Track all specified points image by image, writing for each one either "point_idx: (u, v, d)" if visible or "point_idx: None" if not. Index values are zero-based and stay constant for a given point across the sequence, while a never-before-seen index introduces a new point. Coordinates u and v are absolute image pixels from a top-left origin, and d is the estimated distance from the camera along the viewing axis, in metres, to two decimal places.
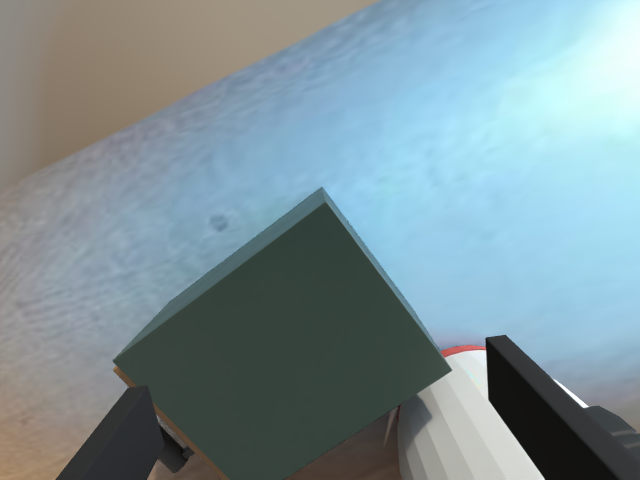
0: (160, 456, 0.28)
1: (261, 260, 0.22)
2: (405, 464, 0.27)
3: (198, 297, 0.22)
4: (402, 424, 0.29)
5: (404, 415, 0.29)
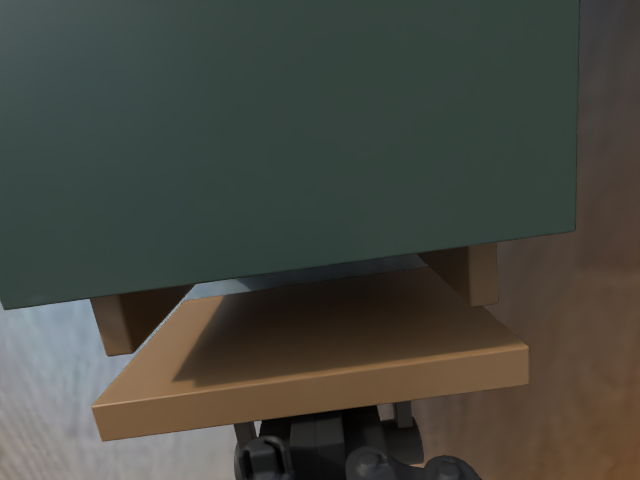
0: None
1: None
2: None
3: None
4: None
5: None
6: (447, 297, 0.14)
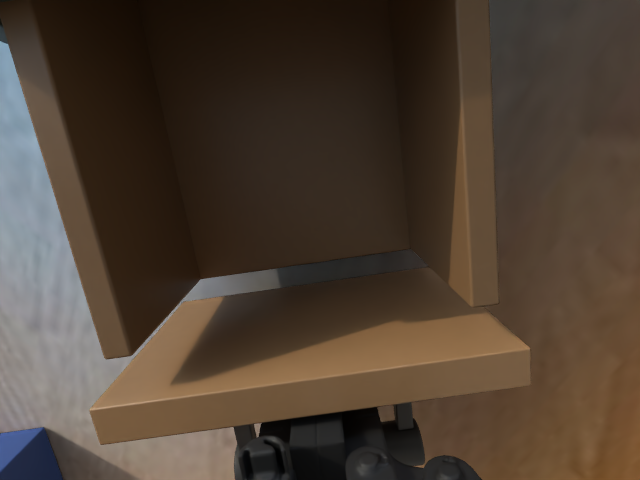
0: None
1: None
2: None
3: None
4: None
5: None
6: (447, 298, 0.14)
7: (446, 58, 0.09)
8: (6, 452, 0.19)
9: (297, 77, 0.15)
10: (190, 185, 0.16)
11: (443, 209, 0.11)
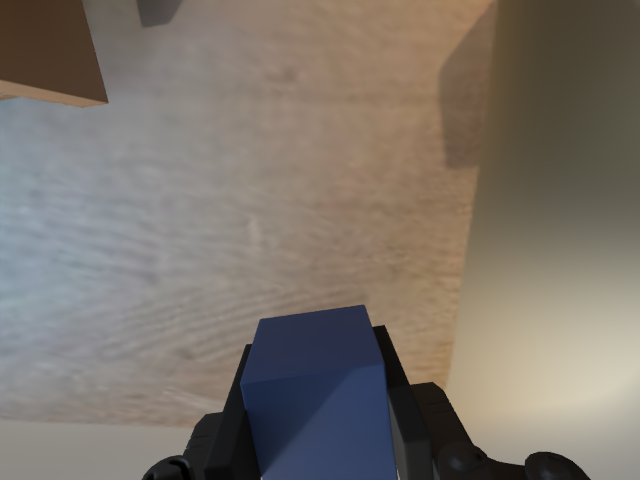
0: None
1: None
2: None
3: None
4: None
5: None
6: None
7: None
8: None
9: None
10: None
11: None
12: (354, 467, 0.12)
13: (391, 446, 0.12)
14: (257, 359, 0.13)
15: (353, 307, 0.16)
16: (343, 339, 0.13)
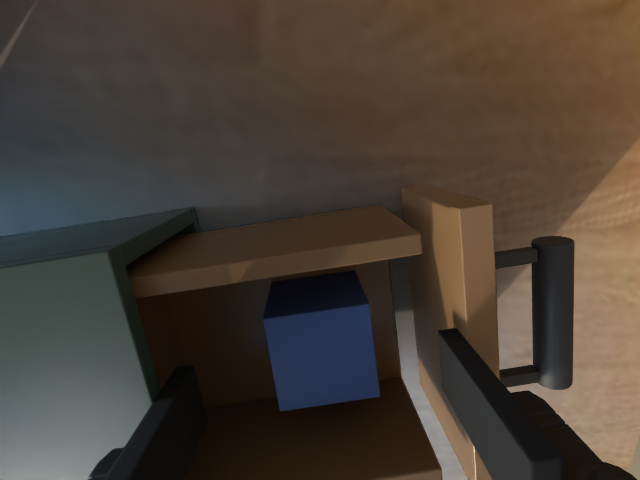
0: (566, 286, 0.16)
1: None
2: None
3: None
4: None
5: None
6: (424, 214, 0.17)
7: None
8: None
9: (253, 310, 0.20)
10: None
11: None
12: (347, 385, 0.16)
13: (375, 368, 0.16)
14: (273, 305, 0.17)
15: (346, 272, 0.20)
16: (338, 291, 0.17)
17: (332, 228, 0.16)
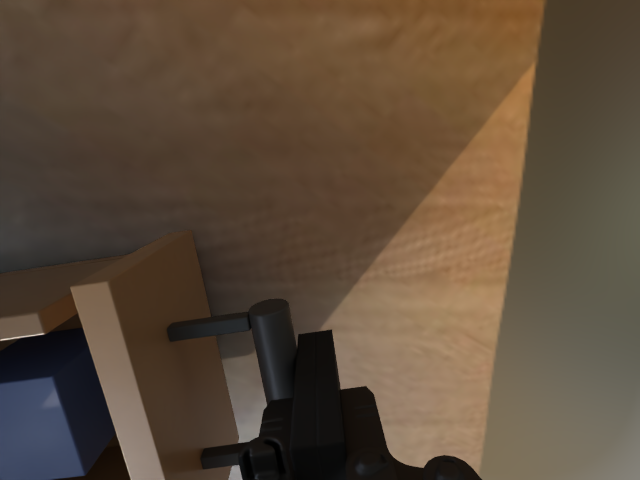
0: (276, 359, 0.14)
1: None
2: None
3: None
4: None
5: None
6: None
7: None
8: None
9: None
10: None
11: None
12: (45, 463, 0.15)
13: (73, 445, 0.15)
14: None
15: None
16: (54, 355, 0.16)
17: (19, 290, 0.14)
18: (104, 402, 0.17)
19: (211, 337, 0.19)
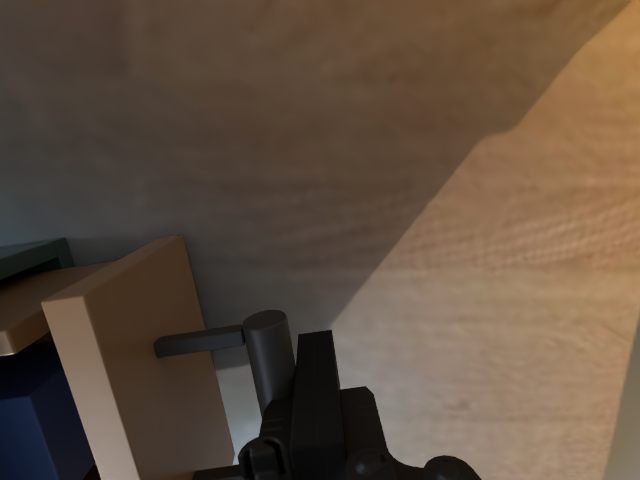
0: (273, 376, 0.13)
1: None
2: None
3: None
4: None
5: None
6: None
7: None
8: None
9: None
10: None
11: None
12: None
13: (52, 470, 0.14)
14: None
15: None
16: (33, 371, 0.15)
17: None
18: None
19: None
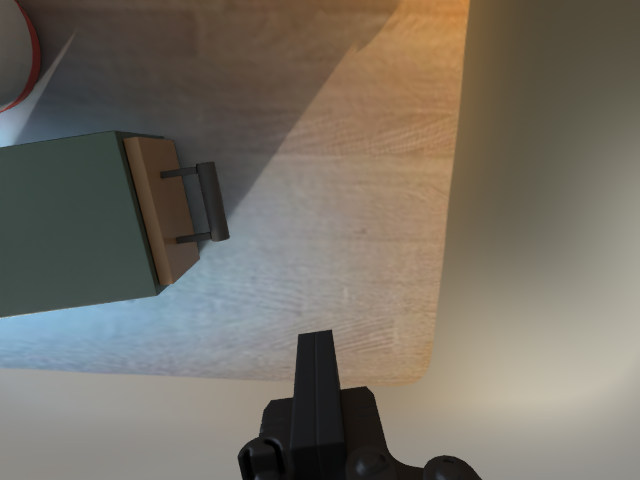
0: (207, 184, 0.32)
1: (22, 309, 0.31)
2: None
3: (76, 306, 0.31)
4: None
5: None
6: None
7: None
8: None
9: None
10: None
11: None
12: None
13: None
14: None
15: None
16: None
17: None
18: None
19: (183, 197, 0.37)
